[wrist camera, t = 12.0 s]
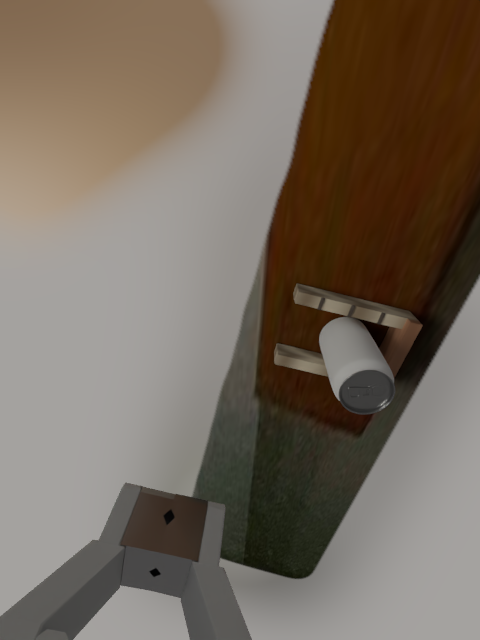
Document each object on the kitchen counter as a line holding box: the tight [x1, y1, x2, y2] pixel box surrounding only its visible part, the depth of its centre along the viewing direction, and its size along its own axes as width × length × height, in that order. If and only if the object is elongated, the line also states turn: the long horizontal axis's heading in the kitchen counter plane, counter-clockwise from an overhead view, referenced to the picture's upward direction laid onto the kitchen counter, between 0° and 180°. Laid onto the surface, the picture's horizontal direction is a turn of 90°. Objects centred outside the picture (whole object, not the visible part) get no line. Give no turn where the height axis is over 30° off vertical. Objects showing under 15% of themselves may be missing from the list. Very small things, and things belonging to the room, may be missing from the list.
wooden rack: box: [274, 284, 423, 378], centre depth 43 cm, size 15×10×4 cm
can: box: [319, 317, 395, 414], centre depth 40 cm, size 6×6×12 cm
